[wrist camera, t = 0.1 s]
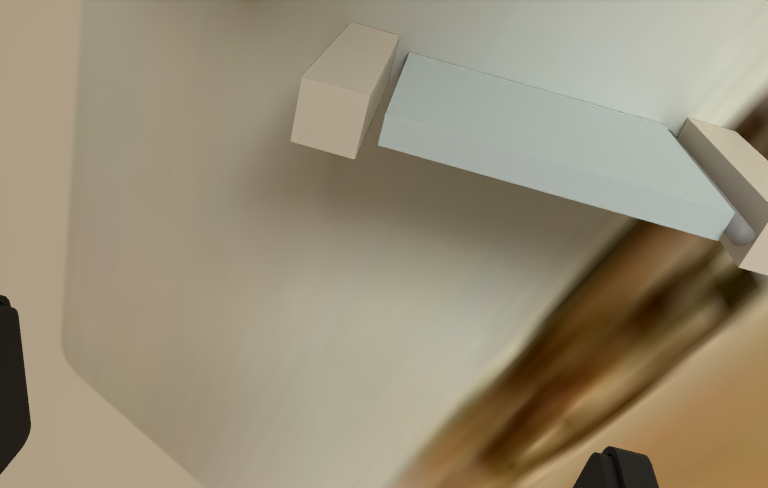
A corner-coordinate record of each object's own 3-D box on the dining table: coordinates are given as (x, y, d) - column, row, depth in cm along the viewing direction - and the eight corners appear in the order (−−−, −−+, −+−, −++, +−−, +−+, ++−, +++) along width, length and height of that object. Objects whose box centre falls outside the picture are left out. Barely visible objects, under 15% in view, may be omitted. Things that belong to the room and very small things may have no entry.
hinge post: (687, 117, 37) (775, 210, 26) (735, 131, 37) (842, 229, 27) (664, 162, 39) (738, 267, 28) (710, 175, 39) (801, 284, 28)
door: (678, 128, 38) (762, 225, 27) (667, 150, 38) (743, 253, 28) (409, 51, 37) (383, 118, 27) (403, 75, 38) (375, 150, 27)
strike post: (351, 22, 37) (301, 76, 26) (399, 36, 37) (370, 96, 26) (341, 71, 38) (290, 141, 28) (387, 84, 39) (354, 159, 28)
